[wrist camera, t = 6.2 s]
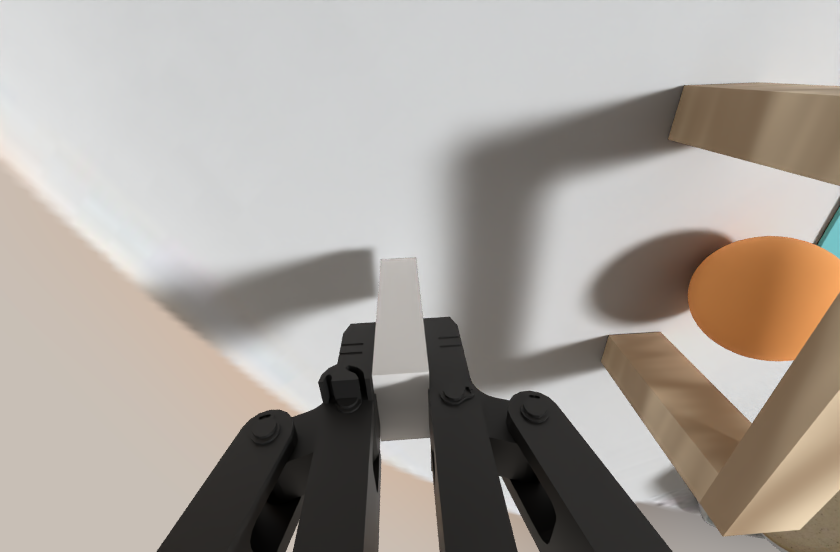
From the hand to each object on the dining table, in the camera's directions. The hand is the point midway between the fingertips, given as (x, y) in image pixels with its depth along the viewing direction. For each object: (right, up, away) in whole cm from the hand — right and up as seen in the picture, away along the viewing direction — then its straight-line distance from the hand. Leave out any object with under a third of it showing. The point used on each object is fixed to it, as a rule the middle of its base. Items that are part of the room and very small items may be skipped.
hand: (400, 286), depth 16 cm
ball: (+16, -1, 0) cm, 16 cm away
